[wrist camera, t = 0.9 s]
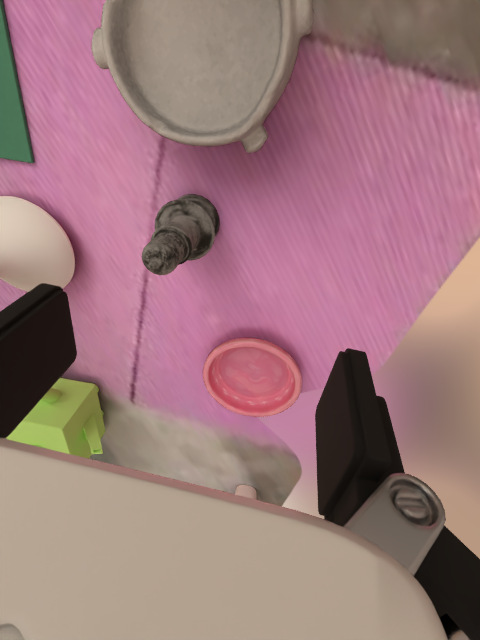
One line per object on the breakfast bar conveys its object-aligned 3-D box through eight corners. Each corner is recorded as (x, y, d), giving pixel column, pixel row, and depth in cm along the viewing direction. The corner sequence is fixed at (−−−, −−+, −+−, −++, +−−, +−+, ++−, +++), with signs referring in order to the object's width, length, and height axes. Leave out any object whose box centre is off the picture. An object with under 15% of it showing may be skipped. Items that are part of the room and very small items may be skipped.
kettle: (89, 438, 60) (49, 501, 50) (20, 389, 55) (-38, 447, 46) (139, 406, 53) (103, 472, 43) (64, 346, 48) (7, 405, 39)
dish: (105, 77, 30) (72, 73, 25) (179, -137, 22) (150, -191, 18) (240, 181, 32) (230, 193, 28) (344, 22, 25) (352, 6, 21)
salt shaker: (160, 195, 34) (101, 234, 24) (216, 187, 33) (177, 224, 23) (175, 250, 37) (128, 304, 27) (227, 244, 36) (197, 299, 26)
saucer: (215, 399, 49) (210, 416, 47) (200, 328, 43) (193, 343, 40) (302, 402, 47) (302, 420, 44) (300, 327, 40) (300, 342, 38)
